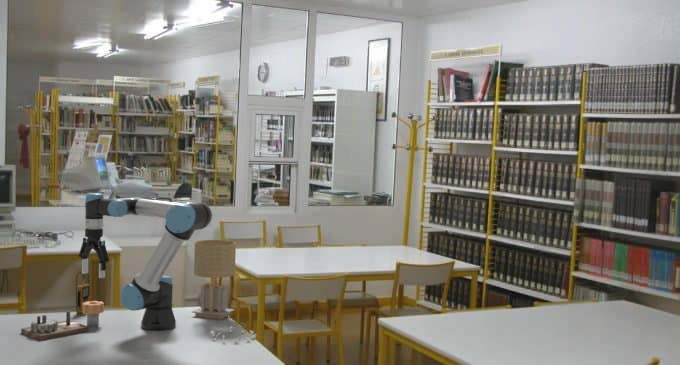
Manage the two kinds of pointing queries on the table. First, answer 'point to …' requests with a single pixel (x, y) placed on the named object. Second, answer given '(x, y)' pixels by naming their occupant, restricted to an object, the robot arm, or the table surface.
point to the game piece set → (233, 339)
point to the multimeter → (82, 295)
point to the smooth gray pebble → (92, 320)
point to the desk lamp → (214, 275)
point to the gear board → (55, 333)
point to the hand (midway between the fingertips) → (93, 275)
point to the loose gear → (93, 307)
